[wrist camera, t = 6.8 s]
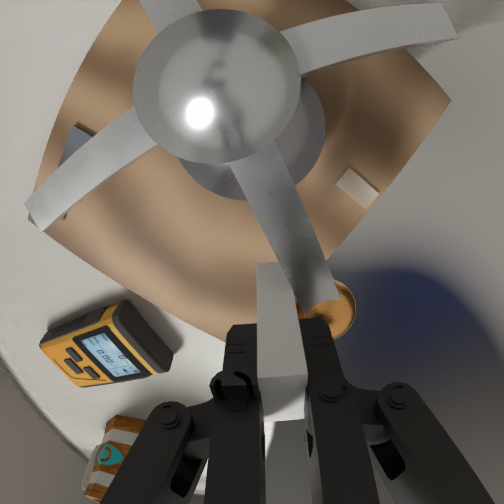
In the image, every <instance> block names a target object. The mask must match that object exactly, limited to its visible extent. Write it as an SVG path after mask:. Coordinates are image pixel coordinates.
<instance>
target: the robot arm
mask: <svg viewBox="0 0 504 504" xmlns="http://www.w3.org/2000/svg"><path fill="white" fill-rule="evenodd" d="M209 386H210V389H211V392H212V395H213V398H212V399H211V400H209V401H207V402H205V403H202V404H198V405H194V406H190V407H186V406H185V405H183V404H181V403H179V402H172V401H169V402H165V403H162V404H160V405H158V406H156V407H155V408H154V409H153V411H152V412H151V413H150V415H149V417H148V418H147V420H146V422H145V424H144V425H143V427H142V429H141V431H140V432H139V434H138V436H137V438H136V439H135V441H134V443H133V445H132V447H131V448H130V450H129V452H128V454H127V455H126V457H125V459H124V461H123V462H122V464H121V466H120V468H119V470H118V471H117V473H116V475H115V477H114V478H113V480H112V482H111V484H110V486H109V487H108V489H107V491H106V493H105V494H104V496H103V498H102V500H101V502H100V503H99V504H189V503H190V500H191V498H192V496H193V493H194V491H195V489H196V486H197V484H198V482H199V479H200V477H201V474H202V472H203V469H204V467H205V465H206V462H207V460H208V467H207V477H206V487H205V498H204V504H266V480H265V479H266V477H265V434H264V422H269V421H284V420H295V419H303V418H304V417H305V425H306V429H305V437H304V441H306V446H307V455H308V463H309V474H310V484H311V494H312V504H380V502H379V498H378V492H377V487H376V482H375V478H374V473H373V468H372V464H371V460H372V462H373V464H374V466H375V468H376V469H377V471H378V473H379V475H380V477H381V479H382V480H383V482H384V484H385V486H386V487H387V489H388V491H389V493H390V495H391V497H392V498H393V500H394V502H395V504H495V503H494V502H493V500H492V498H491V497H490V495H489V494H488V492H487V491H486V489H485V488H484V486H483V484H482V483H481V481H480V480H479V479H478V477H477V475H476V474H475V472H474V471H473V469H472V468H471V467H470V465H469V464H468V462H467V461H466V459H465V458H464V456H463V455H462V453H461V452H460V451H459V449H458V448H457V446H456V445H455V443H454V442H453V441H452V439H451V438H450V436H448V434H447V432H446V431H445V430H444V428H443V427H442V425H441V424H440V423H439V421H438V420H437V419H436V417H435V416H434V415H433V414H432V412H431V410H430V409H429V408H428V407H427V405H426V404H425V402H424V401H423V400H422V399H421V397H420V396H419V395H418V393H417V392H416V391H415V390H414V389H413V388H412V387H411V386H410V385H408V384H405V383H402V382H394V383H391V384H387V385H386V386H385V387H383V388H382V389H381V391H374V390H364V389H359V388H357V387H354V386H353V385H351V384H350V383H348V381H347V380H346V379H345V377H344V375H343V372H342V369H341V365H340V362H339V358H338V354H337V351H336V347H335V345H334V341H333V337H332V334H331V330H330V327H329V325H328V324H327V323H326V321H325V320H324V319H323V318H322V317H315V318H305V319H298V315H297V310H296V305H295V299H294V294H293V290H292V288H291V286H290V284H289V282H288V280H287V278H286V276H285V274H284V272H283V270H282V268H281V266H280V264H279V262H267V263H257V323H253V324H236V325H232V327H231V328H230V330H229V331H228V333H227V335H226V346H225V355H224V362H223V371H221V372H219V373H217V374H216V375H215V376H214V377H213V378H212V380H211V382H210V385H209ZM208 457H209V458H208ZM370 459H371V460H370Z"/></svg>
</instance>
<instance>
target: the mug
mask: <svg viewBox="0 0 504 504" xmlns="http://www.w3.org/2000/svg"><path fill="white" fill-rule="evenodd" d="M145 422H146V420H140V419H134V418H129V417H123V416H118V415H115V416H114V417H113V418H112V419H110V420H109V421H108V422H107V424H106V429H105V434H104V437H103V440H102V443H101V444H100V445H97V446H96V447H95V449H94V450H93V452H92V454H91V457H90V460H89V463H88V466H87V469H86V471H85V474H84V476H83V479H82V489H83V490H84V491H85V493H84V496H86V497H88V498H90V499H92V500H94V501H96V502H98V503H100V502H101V500H102V498H103V496H104V494H105V493H106V491H107V489H108V487H109V486H110V484H111V482H112V480H113V478H114V477H115V475H116V473H117V471H118V470H119V468H120V466H121V464H122V462H123V461H124V459H125V457H126V455H127V454H128V452H129V450H130V448H131V447H132V445H133V443H134V441H135V439H136V438H137V436H138V434H139V432H140V431H141V429H142V427H143V425H144V424H145Z"/></svg>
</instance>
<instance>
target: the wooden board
mask: <svg viewBox="0 0 504 504" xmlns="http://www.w3.org/2000/svg"><path fill="white" fill-rule="evenodd" d="M196 1H197V2H198V4H199V5H200V7H201V9H202V10H203V11H205V10H212V9H231V10H237V11H242V12H246V13H249V14H252V15H254V16H257V17H259V18H261V19H263V20H264V21H266V22H268V23H269V24H271V25H272V26H273V27H274V28H276V29H277V30H278V31H279V32H281V31H284V30H287V29H290V28H293V27H296V26H299V25H302V24H306V23H309V22H313V21H316V20H320V19H324V18H328V17H332V16H336V15H341V14H345V13H350V12H355V11H359V10H358V9H356V8H355V7H354V6H352V5H351V4H350V3H348V2H347V1H345V0H196ZM157 35H158V32H157V31H156V29H155V27H154V25H153V24H152V22H151V20H150V18H149V17H148V15H147V13H146V11H145V10H144V8H143V6H142V5H141V3H140V1H139V0H122V1H121V3H120V4H119V5H118V7H117V8H116V9H115V11H114V12H113V14H112V15H111V17H110V18H109V19H108V21H107V22H106V24H105V25H104V27H103V28H102V30H101V32H100V33H99V35H98V36H97V38H96V40H95V41H94V43H93V45H92V46H91V48H90V50H89V51H88V53H87V55H86V57H85V59H84V60H83V62H82V64H81V66H80V68H79V70H78V72H77V74H76V76H75V78H74V80H73V82H72V84H71V86H70V88H69V90H68V92H67V95H66V97H65V99H64V101H63V104H62V106H61V108H60V111H59V113H58V116H57V118H56V121H55V123H54V126H53V129H52V132H51V134H50V137H49V140H48V143H47V146H46V149H45V152H44V155H43V159H42V162H41V166H40V169H39V173H38V176H37V180H36V184H35V188H34V192H35V191H36V190H37V189H38V188H39V187H40V186H41V184H42V183H43V182H44V181H45V180H46V179H47V178H48V177H49V176H50V175H51V174H52V173H53V172H54V171H55V170H56V169H57V168H59V167H60V166H61V165H62V164H63V163H64V162H65V161H66V160H67V159H68V158H69V157H70V156H71V155H73V154H74V153H75V152H76V151H77V150H78V149H79V148H80V147H82V146H83V145H84V144H85V143H86V142H88V141H89V140H90V139H91V138H92V137H94V136H95V135H96V134H97V133H98V132H100V131H101V130H102V129H104V128H105V127H106V126H107V125H109V124H110V123H111V122H113V121H114V120H115V119H117V118H118V117H119V116H121V115H122V114H123V113H125V112H126V111H128V110H129V109H131V108H132V107H133V106H134V101H133V80H134V75H135V71H136V67H137V65H138V62H139V60H140V58H141V56H142V54H143V52H144V51H145V49H146V47H147V46H148V45H149V43H150V42H151V41H152V40H153V39H154V38H155V37H156V36H157ZM305 78H306V79H307V80H308V81H309V83H310V84H311V85H312V87H313V88H314V89H315V91H316V93H317V95H318V97H319V99H320V101H321V104H322V107H323V111H324V115H325V125H326V128H325V139H324V144H323V148H322V151H321V154H320V156H319V158H318V160H317V162H316V164H315V165H314V167H313V168H312V170H311V171H310V172H309V173H308V174H307V176H306V177H305V178H304V179H303V180H302V181H300V182H299V183H298V184H297V185H295V187H296V189H297V192H298V194H299V196H300V198H301V201H302V203H303V205H304V208H305V210H306V212H307V215H308V217H309V220H310V222H311V224H312V227H313V229H314V232H315V234H316V237H317V239H318V242H319V244H320V247H321V249H322V252H323V254H324V257H325V259H326V260H327V259H328V258H329V257H330V256H331V254H332V253H333V252H334V251H335V250H336V249H337V248H338V246H339V245H340V244H341V243H342V242H343V241H344V239H345V238H346V237H347V236H348V235H349V234H350V232H351V231H352V230H353V229H354V228H355V227H356V225H357V224H358V223H359V222H360V220H361V219H362V218H363V217H364V216H365V215H366V213H367V212H368V211H369V210H370V209H371V207H372V206H373V205H374V204H375V202H376V201H377V200H378V199H379V198H380V196H381V195H382V194H383V192H384V191H385V190H386V189H387V187H388V186H389V185H390V184H391V182H392V181H393V180H394V179H395V177H396V176H397V175H398V173H399V172H400V171H401V170H402V168H403V167H404V166H405V164H406V163H407V162H408V160H409V159H410V158H411V156H412V155H413V154H414V152H415V151H416V150H417V148H418V147H419V146H420V144H421V143H422V142H423V140H424V139H425V137H426V136H427V135H428V133H429V132H430V130H431V129H432V128H433V126H434V125H435V123H436V122H437V121H438V119H439V118H440V116H441V115H442V113H443V112H444V110H445V109H446V107H447V106H448V104H449V103H450V102H451V99H450V98H449V97H448V96H447V94H446V93H445V92H444V91H443V89H442V88H441V87H440V86H439V85H438V84H437V82H436V81H435V80H434V79H433V78H432V77H431V76H430V75H429V73H428V72H427V71H426V70H425V69H424V68H423V67H422V66H421V65H420V64H419V63H418V62H417V61H416V60H415V59H414V58H413V57H412V56H411V55H410V54H409V53H408V52H407V51H406V50H405V49H401V50H396V51H391V52H387V53H383V54H378V55H374V56H370V57H366V58H363V59H359V60H355V61H352V62H348V63H345V64H341V65H338V66H335V67H332V68H329V69H325V70H322V71H319V72H317V73H314V74H311V75H308V76H305ZM28 220H29V221H31V222H32V223H33V224H34V225H36V224H35V222H34V220H33V218H32V216H31V215H30V213H29V217H28ZM36 226H37V225H36ZM43 232H45V233H46V234H47V235H49V236H50V237H51V238H53V239H54V240H56V241H57V242H58V243H60V244H61V245H62V246H64V247H65V248H67V249H68V250H69V251H71V252H72V253H74V254H75V255H77V256H78V257H80V258H81V259H82V260H84V261H85V262H87V263H88V264H90V265H91V266H93V267H94V268H96V269H97V270H99V271H100V272H102V273H103V274H105V275H107V276H108V277H110V278H111V279H113V280H114V281H116V282H118V283H119V284H121V285H122V286H124V287H126V288H127V289H129V290H131V291H132V292H134V293H136V294H137V295H139V296H141V297H142V298H144V299H146V300H147V301H149V302H151V303H153V304H154V305H156V306H158V307H160V308H161V309H163V310H165V311H167V312H168V313H170V314H172V315H174V316H176V317H177V318H179V319H181V320H183V321H185V322H187V323H189V324H191V325H192V326H194V327H196V328H198V329H200V330H202V331H204V332H206V333H208V334H210V335H212V336H214V337H216V338H218V339H220V340H222V341H224V342H226V335H227V333H228V331H229V330H230V328H231V327H232V325H236V324H253V323H257V263H267V262H278V259H277V257H276V255H275V253H274V251H273V249H272V247H271V245H270V243H269V241H268V239H267V238H266V236H265V234H264V232H263V230H262V228H261V226H260V224H259V222H258V220H257V218H256V216H255V214H254V212H253V210H252V208H251V206H250V204H249V202H248V201H241V200H234V199H229V198H226V197H222V196H220V195H217V194H215V193H213V192H211V191H209V190H207V189H206V188H204V187H203V186H201V185H200V184H198V183H197V182H196V181H195V180H194V179H193V178H192V177H191V176H190V175H189V174H188V172H187V171H186V170H185V169H184V167H183V165H182V164H181V162H180V160H179V158H178V157H177V156H175V155H173V154H171V153H169V152H167V151H166V150H164V149H163V148H161V147H158V148H157V149H155V150H153V151H152V152H150V153H149V154H147V155H145V156H144V157H142V158H141V159H139V160H138V161H136V162H135V163H133V164H132V165H130V166H129V167H127V168H126V169H124V170H123V171H121V172H120V173H119V174H117V175H116V176H114V177H113V178H112V179H110V180H109V181H107V182H106V183H105V184H103V185H102V186H101V187H99V188H98V189H97V190H95V191H94V192H93V193H91V194H90V195H89V196H87V197H86V198H85V199H84V200H82V201H81V202H80V203H78V204H77V205H76V206H75V207H74V208H72V209H71V210H70V211H69V212H67V213H66V214H65V215H64V216H63V217H62V218H60V219H59V220H58V221H56V222H55V223H53V224H52V225H51V226H49V227H48V228H46V229H45V230H44V231H43ZM293 294H294V292H293ZM294 295H295V294H294Z"/></svg>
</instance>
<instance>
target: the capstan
mask: <svg viewBox="0 0 504 504" xmlns="http://www.w3.org/2000/svg"><path fill="white" fill-rule="evenodd" d="M139 1H140V3H141V5H142V6H143V8H144V10H145V11H146V13H147V15H148V17H149V18H150V20H151V22H152V24H153V25H154V27H155V29H156V31H157V32H158V35H157V36H156V37H155V38H154V39H153V40H152V41H151V42H150V43H149V45H148V46H147V47H146V49H145V51H144V52H143V54H142V56H141V58H140V60H139V62H138V65H137V67H136V71H135V75H134V80H133V101H134V106H133V107H132V108H131V109H129V110H128V111H126V112H125V113H123V114H122V115H121V116H119V117H118V118H117V119H115V120H114V121H113V122H111V123H110V124H109V125H107V126H106V127H105V128H104V129H102V130H101V131H100V132H98V133H97V134H96V135H95V136H94V137H92V138H91V139H90V140H89V141H88V142H86V143H85V144H84V145H83V146H82V147H80V148H79V149H78V150H77V151H76V152H75V153H74V154H73V155H71V156H70V157H69V158H68V159H67V160H66V161H65V162H64V163H63V164H62V165H61V166H60V167H59V168H57V169H56V170H55V171H54V172H53V173H52V174H51V175H50V176H49V177H48V178H47V179H46V180H45V181H44V182H43V183H42V184H41V186H40V187H39V188H38V189H37V190H36V191H35V192H34V193H33V194H32V195H31V196H30V197H29V198H28V200H27V201H26V202H25V203H24V204H25V206H26V207H27V209H28V211H29V213H30V215H31V216H32V218H33V220H34V222H35V224H36V225H37V227H38V229H39V230H40V232H42V231H44V230H45V229H46V228H48V227H49V226H51V225H52V224H53V223H55V222H56V221H58V220H59V219H60V218H62V217H63V216H64V215H65V214H66V213H67V212H69V211H70V210H71V209H72V208H74V207H75V206H76V205H77V204H78V203H80V202H81V201H82V200H84V199H85V198H86V197H87V196H89V195H90V194H91V193H93V192H94V191H95V190H97V189H98V188H99V187H101V186H102V185H103V184H105V183H106V182H107V181H109V180H110V179H112V178H113V177H114V176H116V175H117V174H119V173H120V172H121V171H123V170H124V169H126V168H127V167H129V166H130V165H132V164H133V163H135V162H136V161H138V160H139V159H141V158H142V157H144V156H145V155H147V154H149V153H150V152H152V151H153V150H155V149H157V148H158V147H161V148H163V149H164V150H166V151H167V152H169V153H171V154H173V155H175V156H177V157H178V158H179V160H180V162H181V164H182V165H183V167H184V169H185V170H186V171H187V172H188V174H189V175H190V176H191V177H192V178H193V179H194V180H195V181H196V182H197V183H198V184H200V185H201V186H203V187H204V188H206V189H207V190H209V191H211V192H213V193H215V194H217V195H220V196H222V197H226V198H229V199H234V200H241V201H248V202H249V204H250V206H251V208H252V210H253V212H254V214H255V216H256V218H257V220H258V222H259V224H260V226H261V228H262V230H263V232H264V234H265V236H266V238H267V239H268V241H269V243H270V245H271V247H272V249H273V251H274V253H275V255H276V257H277V259H278V262H279V264H280V266H281V268H282V270H283V272H284V274H285V276H286V278H287V280H288V282H289V284H290V286H291V288H292V290H293V292H294V294H295V296H296V301H295V305H296V310H297V315H298V319H305V318H315V317H322V318H323V319H324V320H325V321H326V323H327V324H328V325H329V327H330V330H331V334H332V337H333V339H335V338H338V337H340V336H341V335H343V334H344V333H345V332H346V331H347V330H348V329H349V328H350V326H351V325H352V323H353V320H354V317H355V312H356V305H355V300H354V298H353V295H352V293H351V292H350V290H349V289H348V288H347V287H346V286H345V285H343V284H342V283H340V282H339V281H336V280H333V278H332V275H331V272H330V270H329V267H328V264H327V262H326V259H325V257H324V254H323V252H322V249H321V247H320V244H319V242H318V239H317V237H316V234H315V232H314V229H313V227H312V224H311V222H310V220H309V217H308V215H307V212H306V210H305V208H304V205H303V203H302V201H301V198H300V196H299V194H298V192H297V189H296V187H295V185H297V184H298V183H299V182H300V181H302V180H303V179H304V178H305V177H306V176H307V174H308V173H309V172H310V171H311V170H312V168H313V167H314V165H315V164H316V162H317V160H318V158H319V156H320V154H321V151H322V148H323V144H324V139H325V128H326V125H325V115H324V111H323V107H322V104H321V101H320V99H319V97H318V95H317V93H316V91H315V89H314V88H313V87H312V85H311V84H310V83H309V81H308V80H307V79H306V78H305V76H308V75H311V74H314V73H317V72H319V71H322V70H325V69H329V68H332V67H335V66H338V65H341V64H345V63H348V62H352V61H355V60H359V59H363V58H366V57H370V56H374V55H378V54H383V53H387V52H391V51H396V50H401V49H406V48H412V47H417V46H423V45H430V44H437V43H441V42H445V41H449V40H454V39H458V38H459V37H458V35H457V33H456V30H455V28H454V26H453V24H452V22H451V20H450V18H449V16H448V14H447V12H446V10H445V8H444V7H443V5H442V3H421V4H406V5H395V6H387V7H379V8H372V9H366V10H361V11H355V12H350V13H345V14H341V15H336V16H332V17H328V18H324V19H320V20H316V21H313V22H309V23H306V24H302V25H299V26H296V27H293V28H290V29H287V30H284V31H281V32H279V31H278V30H277V29H276V28H274V27H273V26H272V25H271V24H269V23H268V22H266V21H264V20H263V19H261V18H259V17H257V16H254V15H252V14H249V13H246V12H242V11H237V10H231V9H212V10H205V11H203V10H202V9H201V7H200V5H199V4H198V2H197V1H196V0H139Z"/></svg>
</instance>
